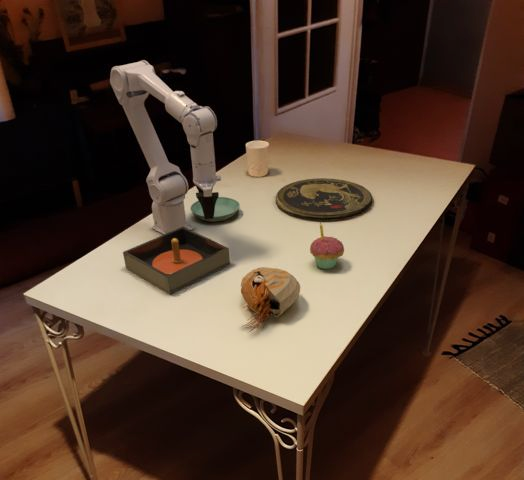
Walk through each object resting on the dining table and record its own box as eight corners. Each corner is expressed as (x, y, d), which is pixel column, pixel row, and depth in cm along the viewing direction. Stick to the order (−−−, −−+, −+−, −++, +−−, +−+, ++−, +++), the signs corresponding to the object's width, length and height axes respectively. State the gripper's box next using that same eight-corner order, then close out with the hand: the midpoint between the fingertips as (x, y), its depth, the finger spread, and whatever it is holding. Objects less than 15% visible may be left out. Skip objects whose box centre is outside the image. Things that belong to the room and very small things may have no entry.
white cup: (243, 176, 194) (242, 147, 187) (250, 168, 199) (249, 139, 193) (265, 178, 192) (265, 149, 185) (272, 170, 197) (271, 141, 191)
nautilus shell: (272, 346, 119) (212, 331, 125) (313, 291, 133) (257, 280, 139) (268, 316, 114) (206, 302, 120) (311, 262, 128) (253, 252, 134)
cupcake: (315, 274, 141) (317, 230, 133) (304, 259, 147) (305, 216, 140) (348, 269, 142) (351, 225, 135) (335, 254, 149) (338, 211, 141)
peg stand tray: (125, 268, 146) (122, 252, 143) (185, 242, 156) (183, 226, 153) (170, 294, 135) (167, 277, 132) (230, 264, 146) (229, 248, 143)
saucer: (241, 204, 176) (241, 195, 174) (238, 224, 164) (238, 216, 162) (194, 204, 176) (193, 196, 175) (188, 225, 165) (187, 217, 163)
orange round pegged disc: (142, 265, 146) (137, 239, 141) (181, 247, 153) (178, 222, 148) (173, 283, 138) (169, 256, 134) (213, 263, 145) (211, 237, 141)
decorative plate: (375, 216, 161) (271, 214, 164) (375, 222, 163) (271, 220, 165) (370, 178, 185) (279, 177, 188) (369, 183, 186) (279, 182, 189)
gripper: (222, 169, 134) (226, 222, 143) (216, 149, 146) (220, 199, 154) (192, 172, 134) (198, 225, 142) (189, 152, 145) (194, 202, 153)
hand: (208, 212), depth 148 cm, fingers open, 7 cm apart
